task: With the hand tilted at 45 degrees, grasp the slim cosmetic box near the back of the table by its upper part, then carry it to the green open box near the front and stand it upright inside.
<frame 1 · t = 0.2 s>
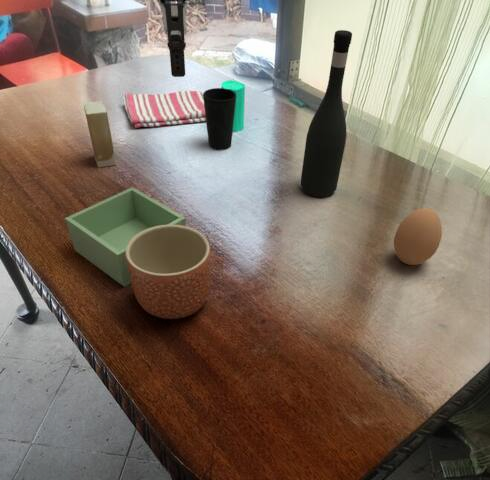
hand: (177, 67, 75), 26 cm above the table, tool pointing down, fingers open, 8 cm apart
dish towel: (170, 113, 125), on the table
cosmetic box: (105, 161, 106), on the table
cup: (220, 145, 113), on the table
wine bottle: (317, 190, 100), on the table
egg: (408, 262, 83), on the table
candle: (232, 127, 121), on the table
green open box: (131, 249, 83), on the table
planter: (174, 303, 74), on the table
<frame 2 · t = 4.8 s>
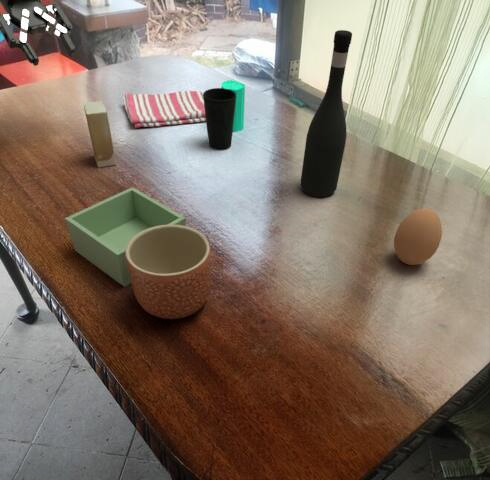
hand: (55, 58, 97), 19 cm above the table, tool tilted 45°, fingers open, 8 cm apart
nothing on the table moved.
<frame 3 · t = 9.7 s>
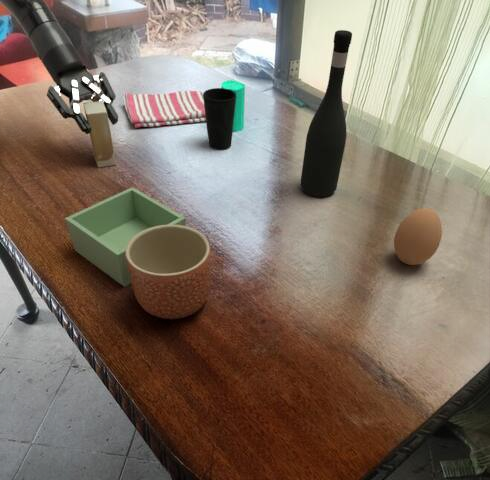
hand: (102, 127, 99), 8 cm above the table, tool tilted 45°, fingers closed on cosmetic box, 6 cm apart
cosmetic box: (105, 161, 106), on the table, touching gripper
everything else where it was.
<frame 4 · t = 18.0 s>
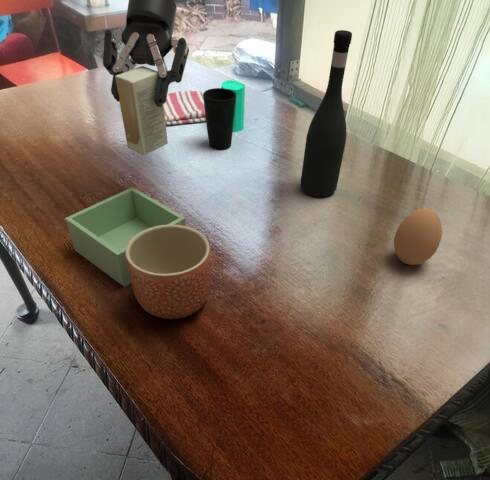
hand: (137, 101, 74), 22 cm above the table, tool tilted 45°, fingers closed on cosmetic box, 6 cm apart
cosmetic box: (147, 147, 82), point 14 cm above the table, touching gripper
everything else where it was.
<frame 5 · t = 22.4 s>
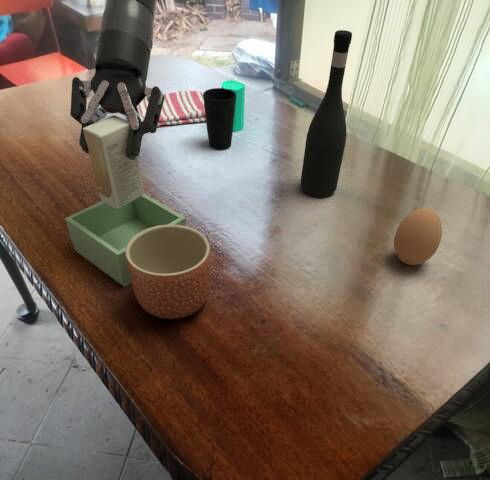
hand: (108, 154, 68), 19 cm above the table, tool tilted 45°, fingers closed on cosmetic box, 6 cm apart
cosmetic box: (122, 199, 76), point 10 cm above the table, touching gripper
everything else where it was.
when the fingers open (9 cm above the table, at t = 26.4 s): cosmetic box stays where it is, resting on green open box.
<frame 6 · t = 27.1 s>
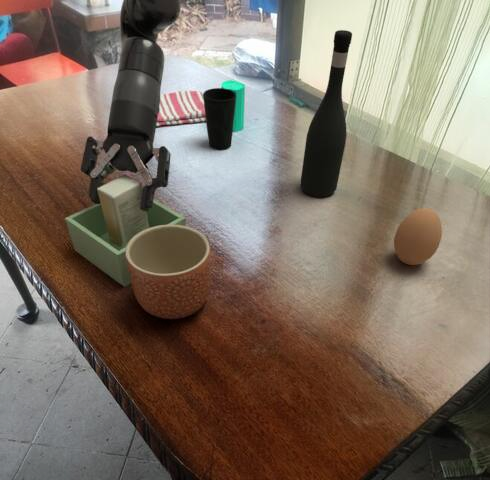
hand: (119, 206, 75), 10 cm above the table, tool tilted 45°, fingers open, 8 cm apart
cosmetic box: (131, 246, 83), point 1 cm above the table, touching green open box
everything else where it was.
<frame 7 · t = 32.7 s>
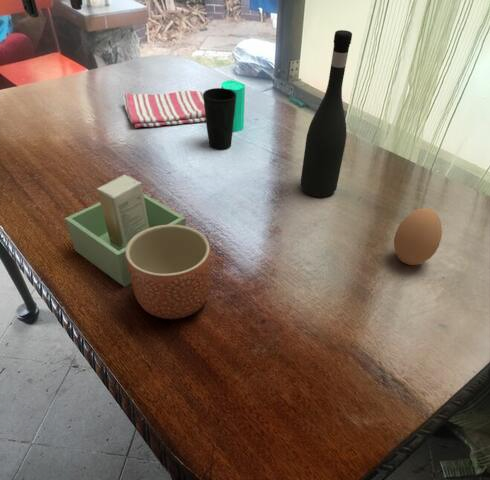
hand: (56, 12, 80), 30 cm above the table, tool pointing down, fingers open, 8 cm apart
nothing on the table moved.
at the end: cosmetic box inside the target area in the green open box (0.1 cm from its centre), point 0.6 cm above the green open box's base; cosmetic box tilted 0°; the gripper is holding nothing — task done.
